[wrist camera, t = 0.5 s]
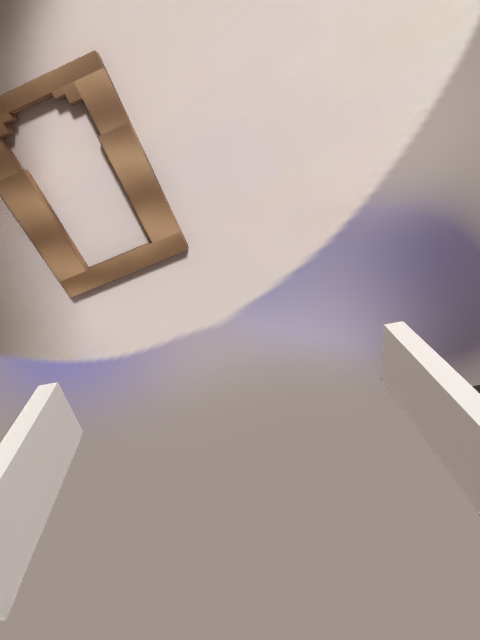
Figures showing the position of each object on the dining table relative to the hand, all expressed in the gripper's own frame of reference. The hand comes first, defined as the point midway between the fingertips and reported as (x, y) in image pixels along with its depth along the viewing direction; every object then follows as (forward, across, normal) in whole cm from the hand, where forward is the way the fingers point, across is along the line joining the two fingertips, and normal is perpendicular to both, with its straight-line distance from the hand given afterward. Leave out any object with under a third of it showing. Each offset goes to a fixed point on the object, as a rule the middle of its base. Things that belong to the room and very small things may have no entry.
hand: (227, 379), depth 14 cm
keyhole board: (+26, -12, +6) cm, 29 cm away
